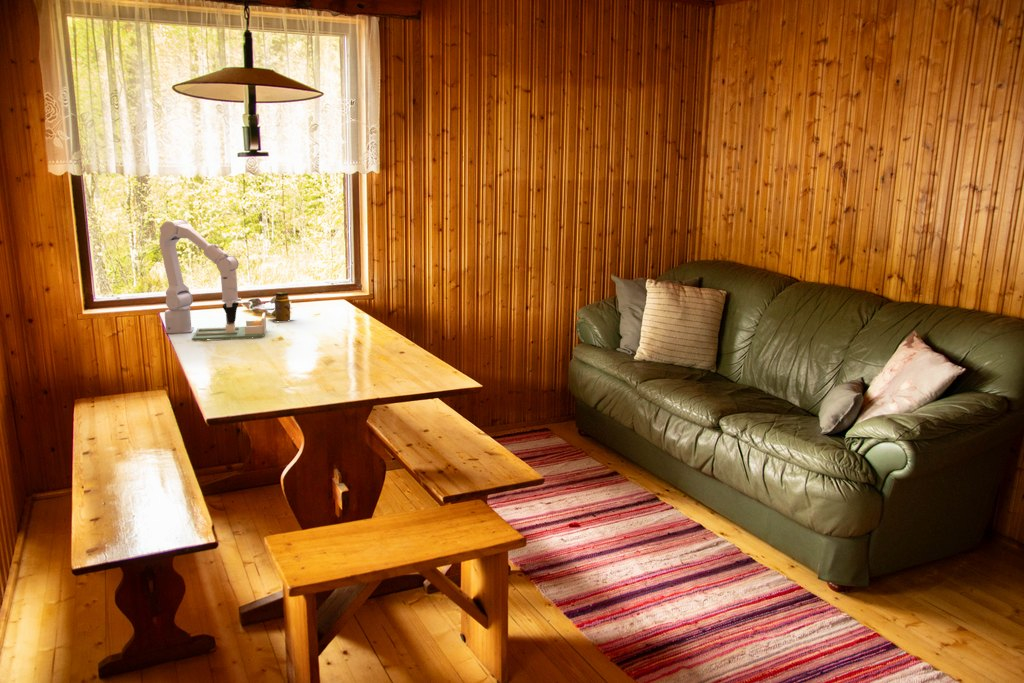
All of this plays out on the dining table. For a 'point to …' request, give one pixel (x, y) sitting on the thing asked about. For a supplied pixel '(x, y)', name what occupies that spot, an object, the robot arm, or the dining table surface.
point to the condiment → (281, 307)
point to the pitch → (222, 333)
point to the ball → (257, 323)
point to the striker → (230, 326)
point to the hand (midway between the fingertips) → (231, 321)
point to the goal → (256, 329)
